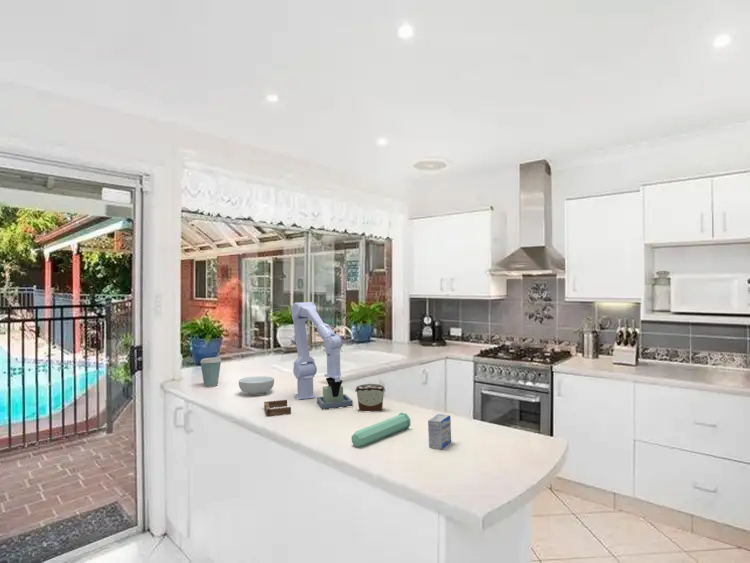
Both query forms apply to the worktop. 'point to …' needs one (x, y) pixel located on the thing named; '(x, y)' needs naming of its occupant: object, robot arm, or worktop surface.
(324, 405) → the tray
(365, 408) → the food container
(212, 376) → the disposable coffee cup
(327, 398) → the tall sage green block
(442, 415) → the medicine box
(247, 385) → the cereal bowl
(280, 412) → the holder
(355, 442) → the container
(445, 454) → the worktop surface
